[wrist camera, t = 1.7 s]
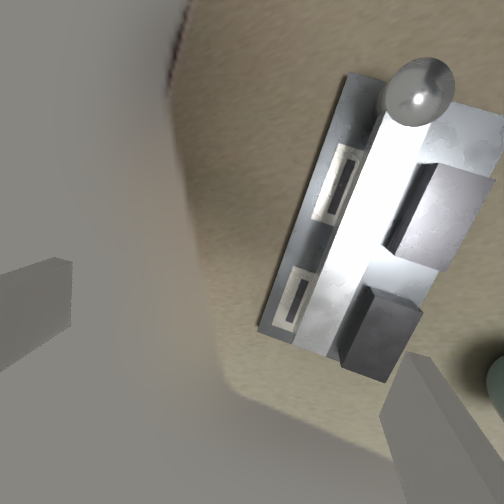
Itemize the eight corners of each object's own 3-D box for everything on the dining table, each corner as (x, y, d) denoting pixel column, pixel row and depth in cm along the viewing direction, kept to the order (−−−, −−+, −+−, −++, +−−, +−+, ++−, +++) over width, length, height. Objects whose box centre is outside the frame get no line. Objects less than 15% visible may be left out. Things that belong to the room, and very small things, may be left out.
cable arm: (390, 65, 21) (403, 49, 18) (445, 81, 21) (467, 67, 18) (287, 327, 27) (286, 344, 25) (328, 342, 27) (331, 360, 24)
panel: (347, 76, 25) (355, 57, 21) (509, 123, 24) (550, 112, 20) (258, 326, 33) (252, 347, 29) (379, 369, 32) (390, 398, 28)
